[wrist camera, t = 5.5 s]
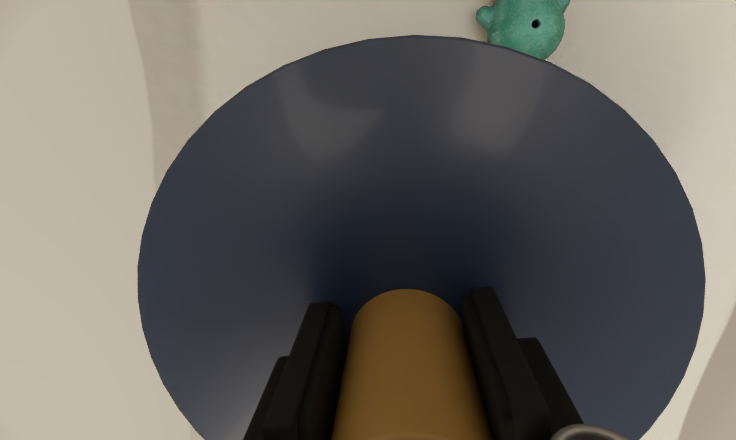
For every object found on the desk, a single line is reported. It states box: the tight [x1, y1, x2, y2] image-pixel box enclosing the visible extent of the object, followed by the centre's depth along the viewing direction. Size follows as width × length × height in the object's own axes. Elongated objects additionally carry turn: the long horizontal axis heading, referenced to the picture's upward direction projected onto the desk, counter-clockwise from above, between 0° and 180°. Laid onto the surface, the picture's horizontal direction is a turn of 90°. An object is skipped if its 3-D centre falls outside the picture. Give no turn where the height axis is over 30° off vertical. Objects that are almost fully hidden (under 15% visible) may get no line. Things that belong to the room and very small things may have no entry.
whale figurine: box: [476, 0, 570, 60], centre depth 25 cm, size 6×7×4 cm
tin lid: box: [138, 35, 705, 440], centre depth 9 cm, size 15×15×6 cm
